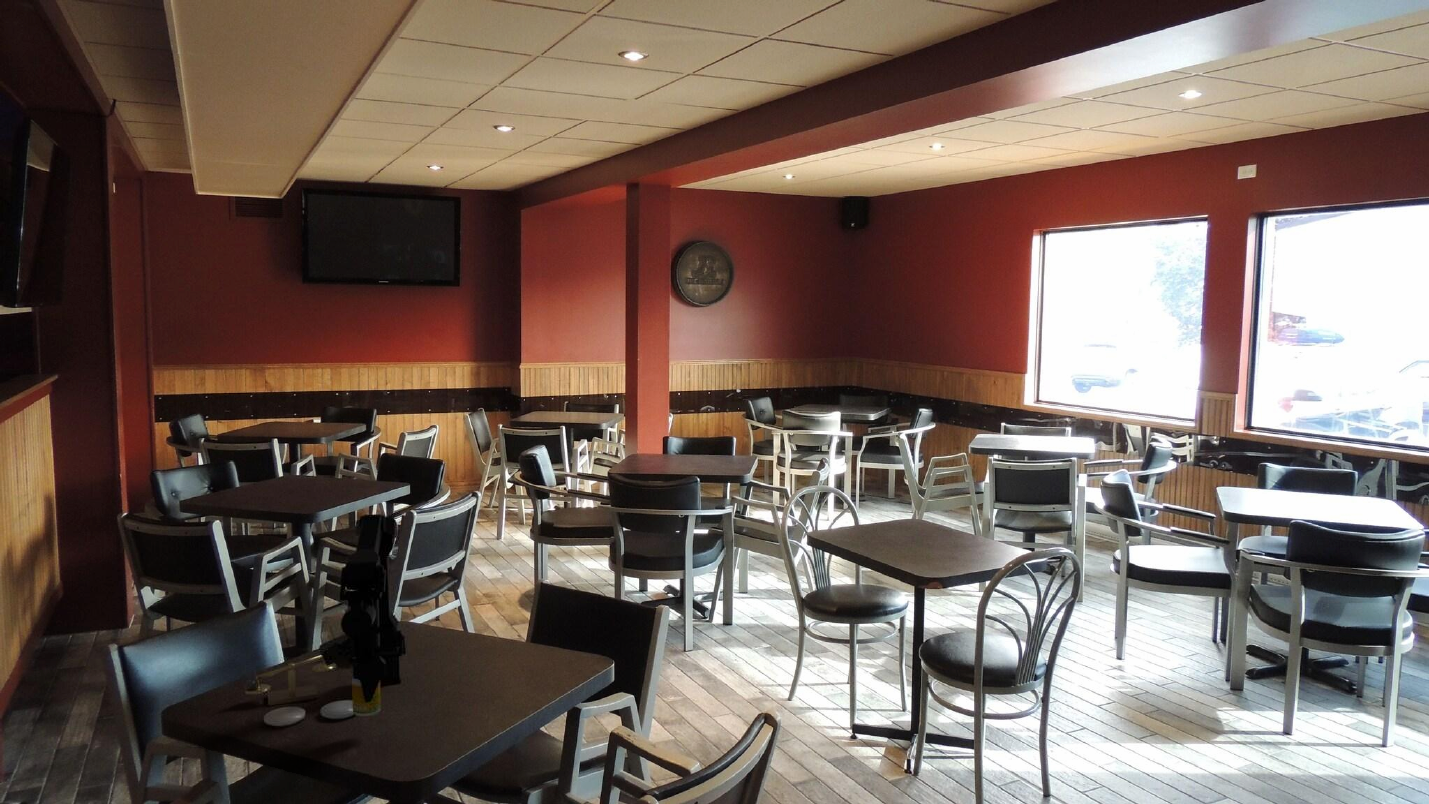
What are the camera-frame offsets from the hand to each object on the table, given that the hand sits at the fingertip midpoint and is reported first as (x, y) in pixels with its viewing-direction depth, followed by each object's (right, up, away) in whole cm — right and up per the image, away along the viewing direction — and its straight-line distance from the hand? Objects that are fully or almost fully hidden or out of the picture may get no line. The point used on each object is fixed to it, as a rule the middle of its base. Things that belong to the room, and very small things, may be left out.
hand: (366, 697), depth 205 cm
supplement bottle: (0, -3, 0) cm, 3 cm away
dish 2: (-10, -7, +12) cm, 17 cm away
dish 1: (-20, -7, +8) cm, 23 cm away
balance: (-24, -6, +21) cm, 32 cm away
